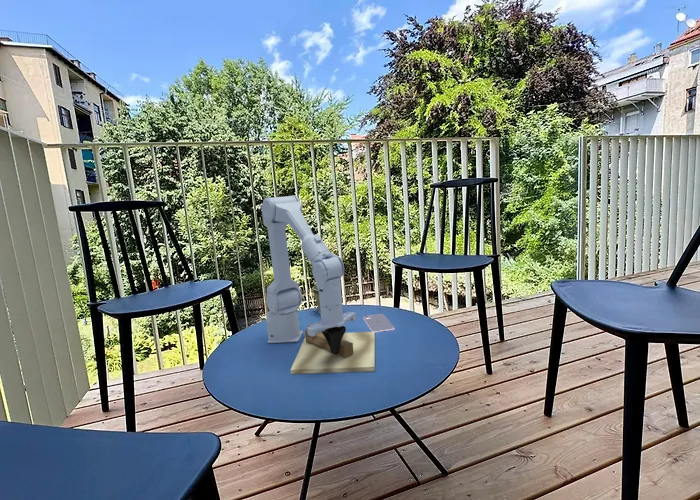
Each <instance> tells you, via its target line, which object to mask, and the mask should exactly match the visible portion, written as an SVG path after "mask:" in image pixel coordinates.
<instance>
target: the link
mask: <svg viewBox="0 0 700 500" xmlns="http://www.w3.org/2000/svg"><path fill="white" fill-rule="evenodd" d="M304 336H305V337H306V342H308V343H313V344H316V345H318V346H320V347H322V348H324V349H327V350H329V351H331V350H330V347H329V344H328V342H327V340H326V338H325V337H324V335H323V334H322V332H320V333H317V334H315V336H313V337H312V336H310V335H308V331H307V328H306V329H305V330H304ZM305 337H304V338H305ZM352 354H353V343H351V342H348V341H346V340H343V339H342V340H341V344H340V349H339V354H338V355H340V356H342V357H344V358H346V357H348V356H350V355H352Z"/></svg>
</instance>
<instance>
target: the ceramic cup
mask: <svg viewBox="0 0 700 500" xmlns="http://www.w3.org/2000/svg"><path fill="white" fill-rule="evenodd" d="M312 293H313V295H314V300H315V302H316V306H317V311H318V314H319V315H320V316H321V311H320V300H319V289H318V288H317V286H316V284H315V285H314V286H312Z"/></svg>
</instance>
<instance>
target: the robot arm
mask: <svg viewBox="0 0 700 500" xmlns="http://www.w3.org/2000/svg"><path fill="white" fill-rule="evenodd" d="M260 208H261V215H262V222H263V225H264V227H267V235H268V243H269V250H270V257H271V267H272V272H273V281H272V282H271V283H270V284H269V285H268V286H267V288H266V297H265V301H266V302H265V303H266V306H267V308H268V311H267V314H266V319H265V320H266V321H265V322H266V329H267V330H266V331H267V337H268V340H267V343H268V344H276V343H278V344H279V343H299V341H300V339H301V337H302V335H303V334H304V333H303V332H304V330H301V329H300V323H299V321H300V320H299V313H298V310H299V309H300V305H301V304H302V302H303V295H302V292H301V289H300V284H299V283H298V281H296V280H294V279H292V275H291V267H290V259H289V251H288V243H287V234H286V228H287V226H288V225H289V226H290V227H291V229H292V230H293V231H294V233H295V234H296V235H297V237H298V238H299V239H300V240H301V245H300V248H301V250H302V252H303V253H304V254H305V256H306V258H307V260H308V261H309V262H310V264H311V266H312V269H311V274H312V276H313V279H314V281H315V285H316V286H317V288H318V289H319V300H320V311H321V315H320V319H319V320H318V321H317V322H315V323H312V324H313V325H312V326H310V327H308V326H307V327H306V329H307V331H308V335H310V336H312V337H313V336H315V334H317V333H320V332H322V334H323V335H324V337H325V338H326V340H327V342H328V344H329V347H330V350H331V353H333V354H335V355H337V354H339V349H340V344H341V340H342V337H343V335H344V333H346V332H347V330H346V327H347V326H345V325H346V323H348V322H351V321H352V322H355V321H356V320H357V315H356V312H353V311H349V312H345V313H344V311H343V300H342V299H343V298H342V283H341V278H342V277H343V276H344V274H345V265H344V262H343V260H342V258H341V257H340V256H339V255H336V254H335V253H333V252H331V251H330V250H329V248H328V246H327V245H326V243H325V242H324V240H323V239H322V237H321V236H320V235H318V234H314V233H313V231H312V229H311V227H310V226H309V224H308V221H307V219H306V218H305V217H304V215H303V203H302V202H301V200H300V199H299V197H298V196H297V195H293V194H292V195H288V196H287V195H286V196H277V197H265V198H264V199H263V201H262V203H261V206H260Z"/></svg>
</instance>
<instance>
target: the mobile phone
mask: <svg viewBox="0 0 700 500" xmlns="http://www.w3.org/2000/svg"><path fill="white" fill-rule="evenodd" d="M362 319H363V321H364V323H366V325H367V327H368V328H369V331H370V332H375V334H376V333H378V334H379V333H384V332H385V333H386V332H390V331H394V330H395V326H394V325H393V324H392V323H391V322H390V320H389V319H388V318H387V317H386V315H385V314H383V313H375V314H368V315H364V316H363V317H362Z"/></svg>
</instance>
